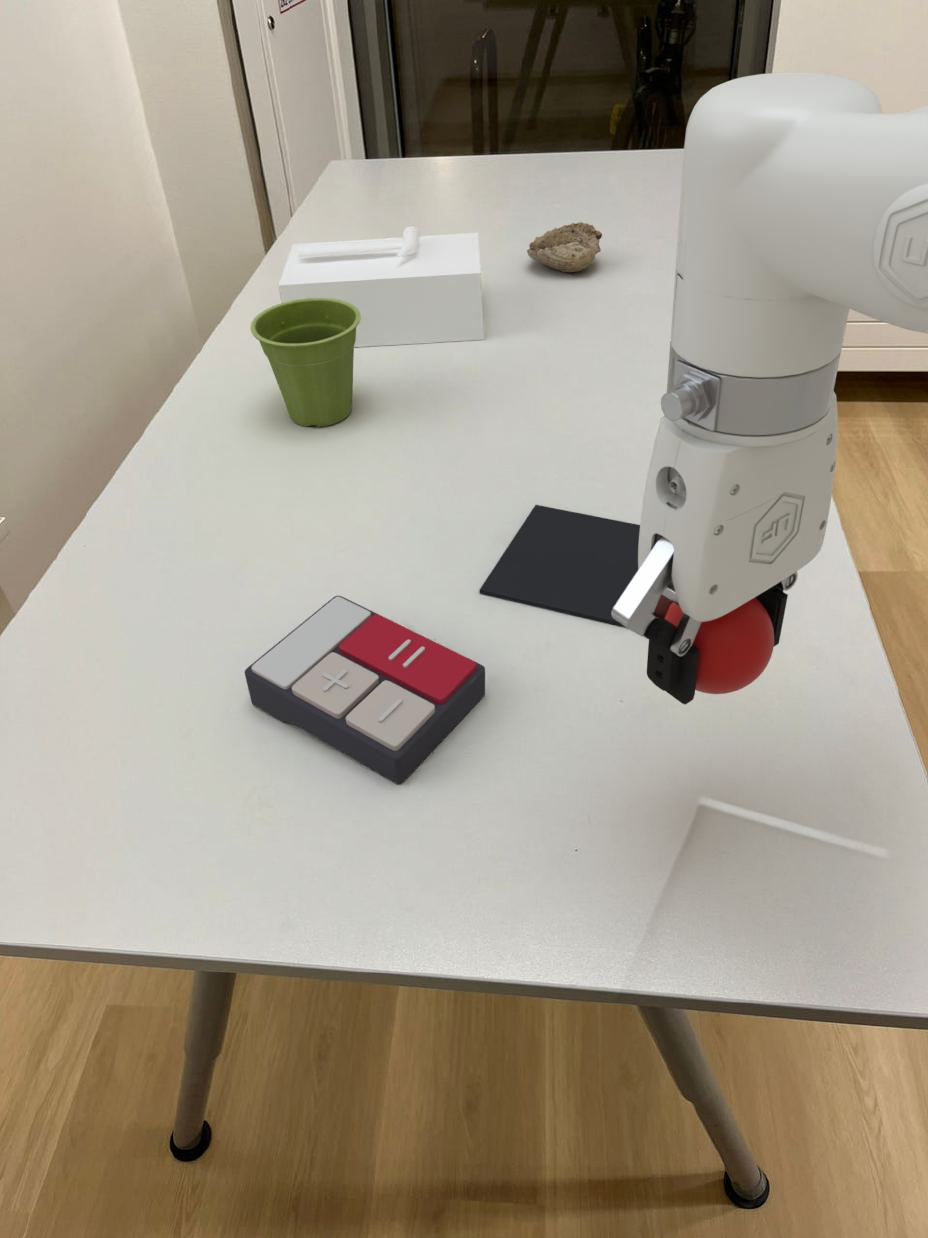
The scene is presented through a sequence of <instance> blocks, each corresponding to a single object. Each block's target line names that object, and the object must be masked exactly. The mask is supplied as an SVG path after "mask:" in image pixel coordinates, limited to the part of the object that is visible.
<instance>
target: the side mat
mask: <svg viewBox="0 0 928 1238" xmlns="http://www.w3.org/2000/svg"><path fill="white" fill-rule="evenodd" d="M639 533H640V524H638V523H632V522H627V521H622V520H617V519H611V518H606V517H602V516H596V515H590V514H586V513H581V512H577V511H576V512H575V511H571V510H565V509H560V508H556V507H555V508H554V507H550V506H545V505H541V504H540V505H539V504H535V505H534V506H533V508H532V509H531V511H530V512H529V514H528V516H527V517H526V519H525V520H524V521H523V523H522V525H520V528H519V529H518V530H517V532H516V534H515V535H514V537H513V538H512V540H511V541H510V543H509V544H508V546H507V547H506V549H505V551H504V552H503V554H502V555H501V557H500V558H499V559H498V561H497V562H496V564H495V566H494V567H493V568H492V570H491V571H490V573H489V575H488V576H487V577H486V579H485V581H484V582H483V584H482V585H481V587H480V588H479V594H482V595H486V596H489V597H493V598H497V599H498V598H499V599H502V600H506V601H510V602H515V603H519V604H524V605H528V606H532V607H536V608H541V609H545V610H550V611H554V612H558V613H562V614H567V615H571V616H575V617H579V618H583V619H588V620H593V621H596V622H601V623H606V624H609V625H614V626H618V627H623V628H627V627H625V626H624V625H622V624H621V623H620V622H618V621H617V620H615V619H614V618H613V617H612V616H611V612H612V609H613V607H614V606H615V604H616V603H617V601H618V600H619V598H620V597H621V595H622V594H623V592H624V591H625V589H626V588H627V586H628V584H629V583H630V581H631V580H632V578H633V577H634V575H635V574H636V572H637V571H638V545H639ZM672 603H673V601H672V602H671V604H672ZM671 604H670V605H671ZM627 629H628V628H627Z"/></svg>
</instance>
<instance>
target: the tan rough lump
mask: <svg viewBox="0 0 928 1238" xmlns="http://www.w3.org/2000/svg"><path fill="white" fill-rule="evenodd" d="M602 237H603V233H602V231H600V230H598V229H596V227H595V226H594V225H593V224H589V223H587V222H586V223H584V222H582V221H580V222H576V223H575V222H572V223H570V224H566V225H562V226H560V227H554V228H553V229H551V230H547V231H546V232H545V233H544V234H543V235H540V236H535V239H534V240H533V241H532V242H530V243H529V244H528V247H529V248H528V249H526V252H527V256H528V257H529V258H530V259H532V260H535V261H536V262H538V263H540V264H541V265H545V266H547V267H549V268H552V269H554V270H557V271H560V272H562V273H576V272H580V271H583V270H584V269H586V268H588V267H589V266H590V265H592V264H593V262H594V261H595V259H596V256H597V254H598V253H600V252H601V250H602V249H601V246H600V240H601V239H602Z"/></svg>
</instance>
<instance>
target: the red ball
mask: <svg viewBox="0 0 928 1238" xmlns="http://www.w3.org/2000/svg"><path fill="white" fill-rule="evenodd" d="M682 615H683V611H682V610H681V608H680V606H679V605H677V604H676V603H674V602H673V603H672V604H671V605H670V607H669V609H668V612H667V614H666V617H665V619H666V620H668V621H669V622H670V623H672V624H673V625H675V626H676V627H678V625H679V622H680V620H681V617H682ZM693 645H695V646H696V647H697V648H698V649H699V652H700V654H699V662H698V671H697V679H696V688H695V691H697V692H699V693H704V694H711V695H726V694H730V693H734V692H737V691H740V690H742V689H744V688H745V687H747V686H749V685H751V684H752V683H754V682H755V681H756V680H757V679H758V678H759V677H760V676H761V675H762V674H763V672H765V670H766V668H767V667H768V665H769V663H770V661H771V658H772V655H773V652H774V648H775V646H774V630H773V625H772V622H771V619H770V617H769V615H768V613H767V611H766V609H765V608H764V606H763V605H762V604H761V603H760V601H759V600H758V599H756V598H753V599H751V600H750V601H748V602H746V603H745V604H743V605H741V606H740V607H738V608H736V609H734V610H733V611H731V612H729V613H727V614H725V615H723V616H721V617H719V618H717V619H714V620H711V621H706V622H702V623H701V625H700V628H699V630H698V632H697V635H696V637H695V639H694V642H693Z"/></svg>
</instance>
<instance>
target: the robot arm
mask: <svg viewBox="0 0 928 1238" xmlns="http://www.w3.org/2000/svg"><path fill="white" fill-rule="evenodd" d="M681 169H682V172H681V184H680V185H681V186H680V198H679V199H680V200H679V202H680V203H679V212H678V227H677V241H676V255H675V270H674V284H673V285H674V286H673V298H672V299H673V300H672V311H671V312H672V313H671V327H670V342H669V352H668V353H669V354H668V355H669V356H668V366H667V367H668V368H667V369H668V370H667V382H666V393H664V394H663V395H662V396H661V398H660V408H661V411H662V413H663V415H662V417H661V418H660V420H659V425H658V428H657V432H656V436H655V439H654V444H653V448H652V451H651V455H650V456H651V457H650V460H649V465H648V471H647V476H646V481H645V487H644V494H643V500H642V507H641V515H640V523H639V525H640V533H639V545H638V571H637V572H636V574H635V575H634V577H633V578H632V580H631V581H630V583H629V584H628V586H627V588H626V589H625V591H624V592H623V594H622V595H621V597H620V598H619V600H618V601H617V603H616V604H615V606H614V607H613V609H612V612H611V616H612V617H613V618H614V619H615V620H617V621H618V622H620V623H621V624H622V625H624V626H625V627H624V628H626V627H627V629H628V630H630V631H631V632H633V633H635V634H636V635H639V636H641V637H643V638H645V639H647V640H648V644H647V645H648V646H647V647H648V648H647V660H646V676H647V678H648V679H649V680H650V681H651V683H653V685H654V686H656V687H657V688H659V690H662V691H663V692H666V693H667V694H669V695H670V696H671V697H673V698H674V699H675V700H676V701H678V702H680V703H681V704H682V705H687V704H689V703H691V702H692V701H693V700H694V698H695V695H696V690H695V688H696V679H697V671H698V662H699V654H700V652H699V649H698V648H697V647H696V646H695V645H693V642H694V639H695V637H696V635H697V632H698V630H699V628H700V625H701V623H702V622H706V621H711V620H714V619H717V618H719V617H721V616H723V615H725V614H727V613H729V612H731V611H733V610H734V609H736V608H738V607H740V606H741V605H743V604H745V603H746V602H748V601H750V600H751V599H753V598H756V599H758V600H759V601H760V603H761V604H762V605H763V606H764V608H765V609H766V611H767V613H768V615H769V617H770V619H771V622H772V625H773V630H774V647H776V646H778V645H779V643H780V639H781V635H782V628H783V623H784V618H785V613H786V607H787V601H788V596H789V594H788V593H786V591H789V590H791V589H792V588H793V587H794V586H795V584H796V582H797V580H798V576H799V574H798V571H800V570H801V569H803V568H804V567H805V566H807V565H808V564H809V563H810V562H812V561H813V560H814V559H815V558H816V557H817V556H818V554H819V553H820V551H821V550H822V547H823V544H824V540H825V537H826V532H827V527H828V521H829V514H830V509H831V502H832V496H833V489H834V480H835V472H836V464H837V454H838V438H839V415H838V400H837V394H836V393H835V391H834V390H835V385H836V381H837V374H838V370H839V365H840V359H841V354H842V349H843V346H844V345H843V344H844V339H845V338H844V337H845V334H846V330H847V329H846V328H847V323H848V320H849V319H848V318H849V313H850V310H852V311H854V312H856V313H859V314H861V315H863V316H866V317H869V318H870V319H874V320H877V321H879V322H882V323H885V324H888V325H891V326H895V327H898V328H901V329H904V330H908V331H913V332H916V333H917V332H918V333H921V334H922V333H923V334H928V104H926V105H924V106H921V107H918V108H915V109H912V110H909V111H905V112H901V113H883V108H882V103H881V101H880V99H879V97H878V95H877V94H876V93H875V92H874V91H873V90H872V89H871V88H870V87H869V86H868V85H866V84H865V83H864V82H860V81H858V80H854V79H853V78H850V77H846V76H843V75H838V74H831V73H824V72H809V71H808V72H806V71H788V72H787V71H786V72H771V73H759V74H752V75H747V76H741V77H737V78H733V79H731V80H728V81H725V82H723V83H720V84H718V85H716V86H714V87H711V89H710V90H708V91H706V92H705V93H704V94H703V95H702V96H701V97H700V98H699V99H698V100H697V102H696V104H694V107H693V108H692V111H691V113H690V115H689V118H688V121H687V125H686V129H685V137H684V144H683V157H682V168H681ZM672 601H673V602H674V603H676V604H677V605H679V606H680V608H681V610H682V611H683V615H682V617H681V620H680V622H679V625H678V627H676V626H675V625H673V624H672V623H670V622H669V621H668V620H666V619H665V617H666V614H667V612H668V609H669V607H670V604H671V602H672Z"/></svg>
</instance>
